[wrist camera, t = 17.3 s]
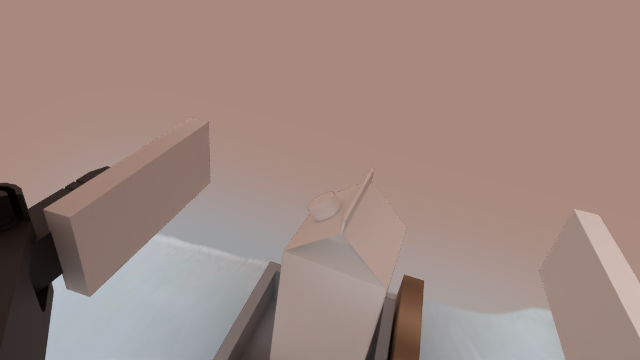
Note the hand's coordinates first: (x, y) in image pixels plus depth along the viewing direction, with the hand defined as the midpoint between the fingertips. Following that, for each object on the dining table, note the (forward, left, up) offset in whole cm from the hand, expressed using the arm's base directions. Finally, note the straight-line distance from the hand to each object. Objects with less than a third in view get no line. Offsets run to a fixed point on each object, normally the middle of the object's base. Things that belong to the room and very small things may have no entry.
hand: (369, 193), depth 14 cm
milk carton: (-5, -8, -25) cm, 27 cm away
